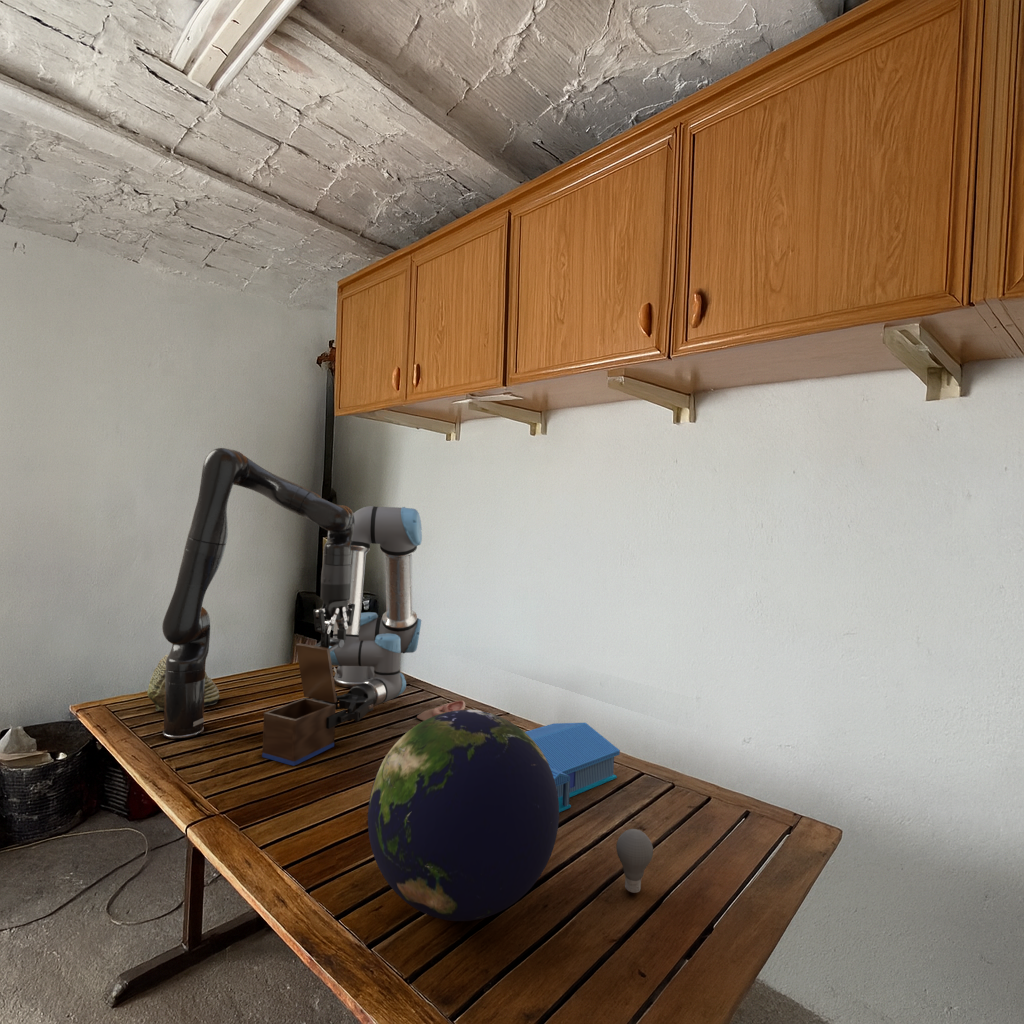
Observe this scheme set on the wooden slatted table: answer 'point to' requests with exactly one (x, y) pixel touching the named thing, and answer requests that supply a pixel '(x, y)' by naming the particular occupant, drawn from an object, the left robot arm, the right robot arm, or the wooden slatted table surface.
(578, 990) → the wooden slatted table surface
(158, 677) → the fossil
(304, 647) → the lid
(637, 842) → the light bulb
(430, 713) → the anatomical model
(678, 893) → the wooden slatted table surface
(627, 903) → the wooden slatted table surface
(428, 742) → the globe
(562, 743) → the model building
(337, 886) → the wooden slatted table surface
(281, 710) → the chest
